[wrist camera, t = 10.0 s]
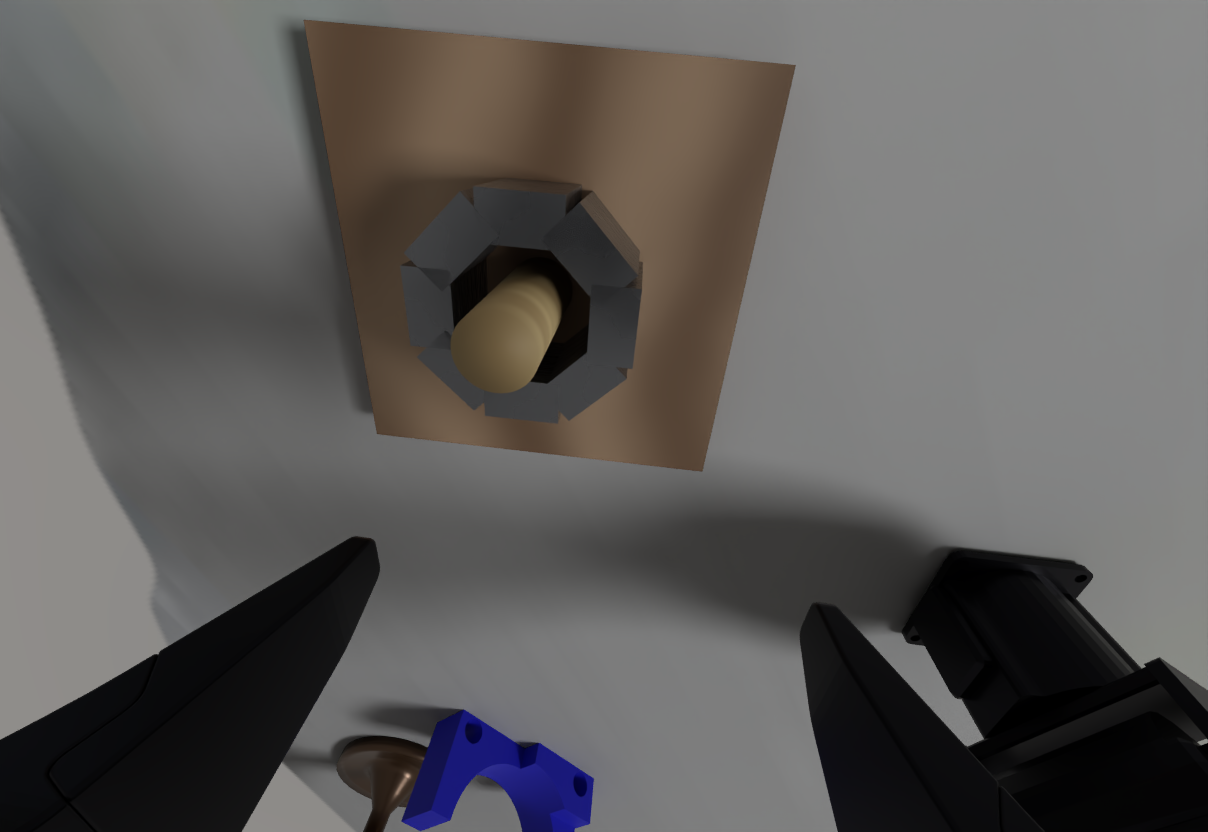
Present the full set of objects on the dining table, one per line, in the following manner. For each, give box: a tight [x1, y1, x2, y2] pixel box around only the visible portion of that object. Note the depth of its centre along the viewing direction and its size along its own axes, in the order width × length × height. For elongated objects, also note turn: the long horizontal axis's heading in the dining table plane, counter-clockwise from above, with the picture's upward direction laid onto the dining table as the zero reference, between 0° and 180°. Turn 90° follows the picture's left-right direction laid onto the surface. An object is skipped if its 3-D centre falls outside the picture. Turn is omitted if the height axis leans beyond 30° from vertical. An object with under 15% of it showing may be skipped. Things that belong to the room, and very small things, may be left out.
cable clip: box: [402, 710, 594, 832], centre depth 33 cm, size 12×4×6 cm, turn 41°
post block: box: [304, 20, 796, 471], centre depth 15 cm, size 14×14×8 cm
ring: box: [400, 178, 643, 424], centre depth 16 cm, size 7×7×4 cm
